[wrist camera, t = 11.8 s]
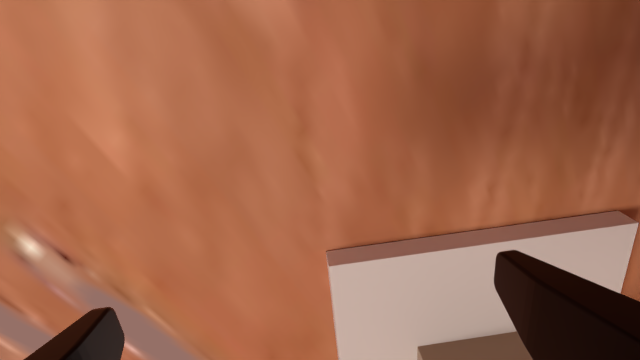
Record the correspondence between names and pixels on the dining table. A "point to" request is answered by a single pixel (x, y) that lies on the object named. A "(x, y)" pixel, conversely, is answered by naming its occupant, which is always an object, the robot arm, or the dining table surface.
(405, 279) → the build board
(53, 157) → the dining table surface
